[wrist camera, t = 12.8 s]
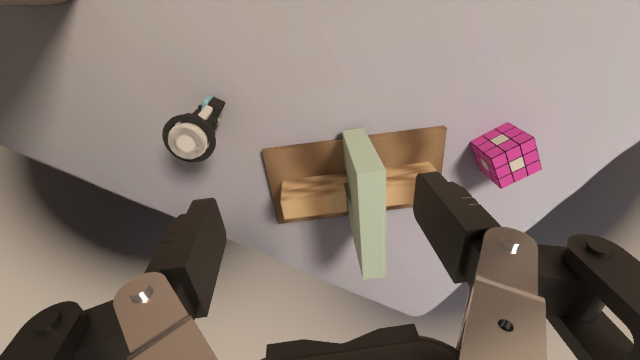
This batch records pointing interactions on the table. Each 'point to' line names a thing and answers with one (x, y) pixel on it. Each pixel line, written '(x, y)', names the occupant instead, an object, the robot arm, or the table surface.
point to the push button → (194, 131)
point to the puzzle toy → (506, 154)
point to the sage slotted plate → (366, 202)
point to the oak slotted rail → (331, 177)
